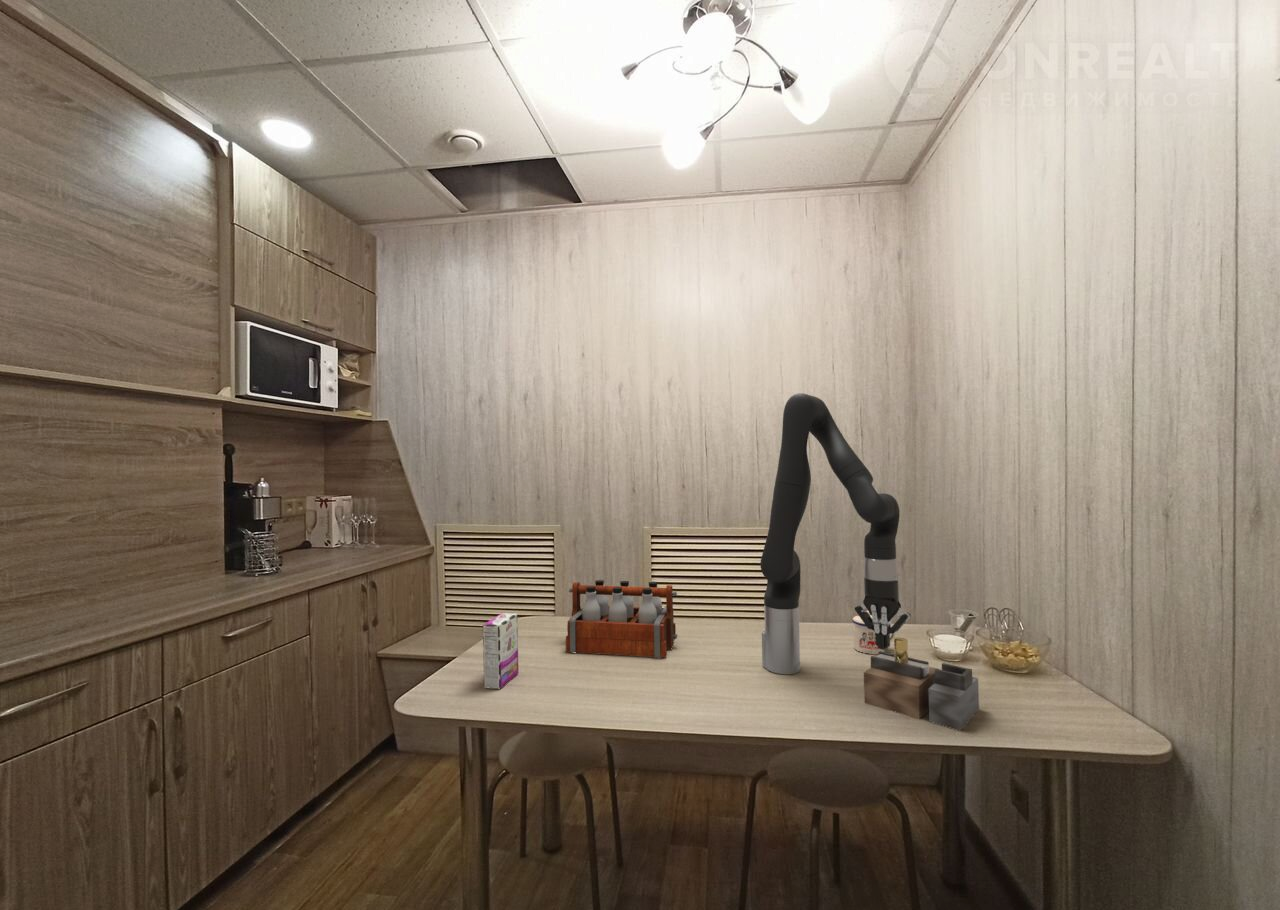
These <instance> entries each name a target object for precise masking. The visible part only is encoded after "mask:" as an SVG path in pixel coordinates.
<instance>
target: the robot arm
mask: <svg viewBox="0 0 1280 910" xmlns="http://www.w3.org/2000/svg"><path fill="white" fill-rule="evenodd" d="M782 414H783V415H782V429H781V430H782V431H781V432H782V433H781V444H780V445H781V446H780V452H779V458H778V463H777V464H778V465H777V471H776V476H775V481H774V486H773V487H774V488H773V492H772V493H773V494H772V502H771V509H770V518H769V526H768V531H767V536H766V540H765V543H764V547H763V550H762V555H761V558H760V563H759V564H760V570H761V573H762V575H763V576H764V578H765V579H766V580H767V583H766V589H765V592H764V597H763V604H764V605H763V606H764V607H763V608H764V609H763V610H764V615H763V616H764V631H762V632H761V661H762V663H761V664H762V665H761V666H762V668H765V669H766V670H767V671H768V672H772V673H774V674H778V675H794V674H797V673H799V672H800V671H801V649H800V647H801V643H800V637H801V636H800V604H799V602H800V596H801V595H800V594H801V562H800V561H801V560H800V557H799V555H798V553H797V551H796V550H795V544H796V543H795V542H796V537H797V533H798V532H797V531H798V528H799V526H800V524H801V521H802V519H803V516H804V514H805V511H806V508H807V505H808V502H809V496H810V489H811V484H812V483H811V482H812V477H811V475H812V474H811V468H810V462H809V459H808V451H807V450H808V440H809V435H810V434H811V435H812V436H813V437H814V438H815V439H816V440H817V441H818V443H819V444H820V445H821V447H822V449H823V451H824V454H825V457H826V459H827V461H828V464H829V466H830V468H831V470H832V472H833V473H834V475H835V476H836V477H837V479H838V480H839V482H840V483H841V485H842V486H843V487H844V488H845V490H846V491H847V494H848V496H849V498H850V500H851V504H852V506H853V507H854V510H855V511H856V512H857V514H858V516H859V517H860V518H861V519H862V520H863V521H864V522H866V523H869V524H870V527H869V528H870V530H869V532H868V533H867V534H866V535H865V536H864V539H863V540H864V541H863V545H864V547H863V550H864V551H863V552H864V561H863V583H864V585H863V586H864V589H863V590H864V599H863V601H862V604H858V605H857V606H855V607H854V611H855V612H856V613H857V616H860V618H861V619H862V621H863V622H864V623H865V625H866V626H867V628H868V629H871V630H873V631H874V632H875V634H876V645H877V646H878V649H882V650H885V651H886V650H888V648H890V646H891V642H890V637H891V635H892V634H893V633H895V634H896V633H897V632H898V631H899V630H900V629H901V628H902V627H903V626H904V625H905V623H906V622H907V621H908V620H910V618H911V617H912V615H911V614H910V613H909V612H906V611H905V610H904V609H903V608H902V605H901V602H900V599H899V570H898V568H899V567H898V562H897V544H896V539H897V534H898V528H899V522H900V507H899V503H898V501H897V499H896V498H895V497H894V496H892V495H891V494H888V493H878V492H877V490H876V489H875V487H874V486H873V482H874V477H873V475H872V474H871V472H870V470H869V469H868V468H867V466H865V464H864V463H863V461H862V459H860V458H859V456H858V455H857V454H856V452H855V451H854V450H853V448H852V447H851V446H850V444H849V443H848V441H847V440H846V438H845V437H844V435H843V433H842V432H841V431H840V428H839V427H838V425H837V424H836V422H835V420H834V418H833V416H832V413H831V412H830V410H829V408H828V407H827V405H826V403H825V402H824V401H823V400H822V399H821V398H819V397H817V396H813V395H810V394H808V393H807V394H806V393H801V392H798V393H795V394H793V395H791V396H790V397H789V398H788V399H787V401H786V403H785V405H784V409H783V413H782ZM867 610H868V611H869V613H870V614H871V616H872V618H871V617H870V615H869V614H868V612H867ZM894 617H897V621H896V622H894V624H893V625H892V623H893V619H894Z"/></svg>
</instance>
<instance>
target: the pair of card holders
mask: <svg viewBox="0 0 1280 910" xmlns="http://www.w3.org/2000/svg"><path fill="white" fill-rule="evenodd" d="M879 654H883V655H888V656H892V657H895V653H890V652H886V651H885V652H882V651H880V652H879ZM879 654H878V655H879ZM908 660H910V661H914V662H919V663H923V664H927V665H929V674H928V675H927V676H926V677H922V671H921V667H918V666H913V665H909V664H905V663H900V662H896V661H892V660H888V659H883V658H879V657H876V655H875V656H873V655H872V656H871V655H870V667H869V668H868V669H867V670H865V671H863V697H864V698H863V699H864V700H863V701H864V702H865V704H868V705H871V706H875V707H879V708H882V709H885V710H889V711H891V710H892V711H891V712H895V711H896V713H898V712H899V714H901V713H903V714H902V715H905V714H906V715H905V716H908V715H909V717H912V718H916V719H918V718H919V720H920V719H921V718H922V717H924V715H925V714H927V712H928V714H929V715H928V719H929V721H930V722H929V723H932V722H934V723H933V724H935V723H937V724H936V725H939V724H940V725H939V726H942V725H944V726H943V727H945V726H947V727H946V728H949V727H951V728H950V729H952V728H954V729H953V730H955V729H957V730H956V731H959V730H960V731H959V732H961V731H962V730H963V729H964V728H965V727H966V726H965V725H968V723H969V722H970V721H971V720H972V718H974V716H975V715H976V714H977V712H978V711H979V710H980V698H979V692H980V691H979V678H978V677H976V676H973V669H972V668H968V667H963V666H958V665H955V664H950V663H947V662H946V663H945V662H943V663H941V669H939V668H936V667H931V666H930V663H929V661H926V660H923V659H918V658H913V657H909V656H908ZM978 709H979V710H978ZM975 713H976V714H975ZM974 714H975V715H974ZM973 715H974V716H973ZM970 719H971V720H970ZM969 720H970V721H969ZM968 721H969V722H968ZM967 722H968V723H967ZM964 726H965V727H964ZM963 727H964V728H963Z"/></svg>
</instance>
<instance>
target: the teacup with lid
mask: <svg viewBox="0 0 1280 910" xmlns="http://www.w3.org/2000/svg"><path fill="white" fill-rule="evenodd" d="M867 612H868V614H869V615H870V617H871V618H872V616H871V614H870V613H869V611H868V610H867ZM851 621H852V623H853V627H852V628H853V630H852V631H853V649H854V648H855V649H856V650H857V651H856V650H855V649H854V650H855V651H856V652H858V651H860V652H859V653H861V652H863V653H862V654H865V653H869V654H868V655H879V652H880V651H882V652H886V650H882V649H878V646H877V645H876V634H875V632H874V631H873V630H871V629H868V628H867V626H866V625H865V623H864V622H863V621H862V619H861V618H860V616H859V615H855V616H853V618H852V620H851ZM894 638H896V632H895V633H893V634H890V643H891V642H892V641H894Z"/></svg>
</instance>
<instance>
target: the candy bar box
mask: <svg viewBox="0 0 1280 910" xmlns="http://www.w3.org/2000/svg"><path fill="white" fill-rule="evenodd" d="M518 637H519V635H518V613H510V612H508V613H507V612H502V613H500V614H498V615H497V616H495V617H494V618H492V619H490V620H488V621H486V622H485V623H484V624H482V649H483V657H482V658H483V688H484V687H489V688H502V687H503V686H504V685H505V684H506V683H507V682H508V683H509V682H511V681H512V680H513V679H514V678H515V677H516V676H517V675H518V674H519V644H518V643H519V639H518ZM514 676H515V677H514ZM513 677H514V678H513ZM512 678H513V679H512ZM511 679H512V680H511ZM510 680H511V681H510ZM508 683H507V684H508ZM507 684H506V685H507ZM506 685H505V686H506ZM505 686H504V687H505ZM504 687H503V688H504ZM503 688H502V689H503Z"/></svg>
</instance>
